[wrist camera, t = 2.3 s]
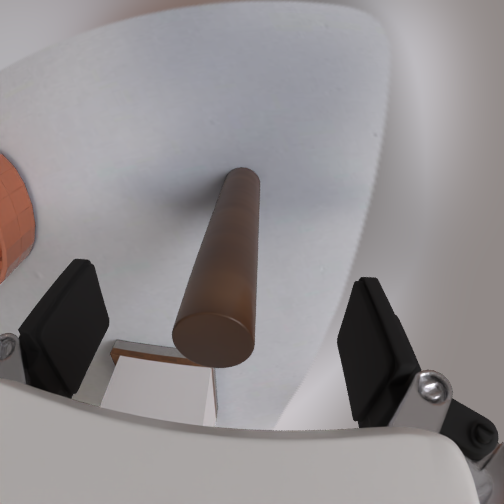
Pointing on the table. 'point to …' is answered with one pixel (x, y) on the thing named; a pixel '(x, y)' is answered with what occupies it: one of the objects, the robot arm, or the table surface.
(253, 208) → the stick
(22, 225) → the bowl
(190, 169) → the table surface
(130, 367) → the striped white pedestal
